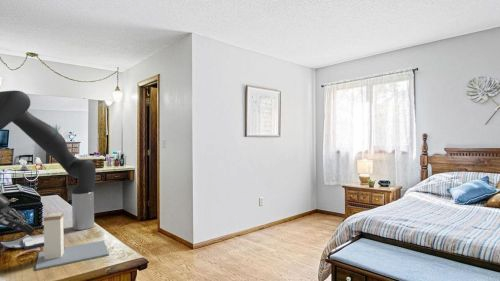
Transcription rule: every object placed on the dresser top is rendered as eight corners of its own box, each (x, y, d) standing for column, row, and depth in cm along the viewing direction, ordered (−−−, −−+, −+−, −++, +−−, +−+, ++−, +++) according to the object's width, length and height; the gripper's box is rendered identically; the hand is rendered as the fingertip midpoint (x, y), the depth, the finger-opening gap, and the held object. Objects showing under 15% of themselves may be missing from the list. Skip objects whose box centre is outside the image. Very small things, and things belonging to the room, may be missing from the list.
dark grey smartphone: (21, 241, 127) (24, 251, 115) (21, 237, 127) (24, 246, 115) (45, 236, 132) (51, 245, 121) (45, 233, 132) (51, 241, 121)
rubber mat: (39, 253, 111) (39, 251, 111) (103, 241, 123) (103, 240, 123) (35, 270, 97) (35, 268, 97) (108, 255, 109) (108, 253, 109)
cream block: (44, 259, 104) (43, 217, 103) (48, 254, 108) (47, 214, 108) (61, 257, 106) (60, 216, 105) (64, 252, 110) (63, 212, 110)
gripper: (-11, 196, 95) (36, 229, 99) (5, 190, 107) (46, 219, 112) (-31, 214, 93) (17, 247, 97) (-13, 205, 105) (29, 235, 110)
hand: (32, 232), depth 105 cm, fingers closed
